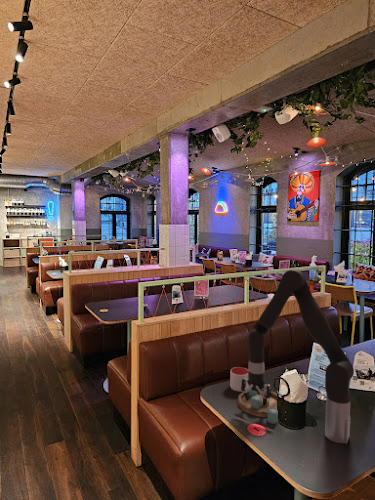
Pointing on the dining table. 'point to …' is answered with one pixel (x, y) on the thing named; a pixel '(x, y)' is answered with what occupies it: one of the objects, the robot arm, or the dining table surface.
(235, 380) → the cup
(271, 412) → the bead
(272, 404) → the tray
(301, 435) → the dining table surface
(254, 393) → the bead
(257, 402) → the bead
